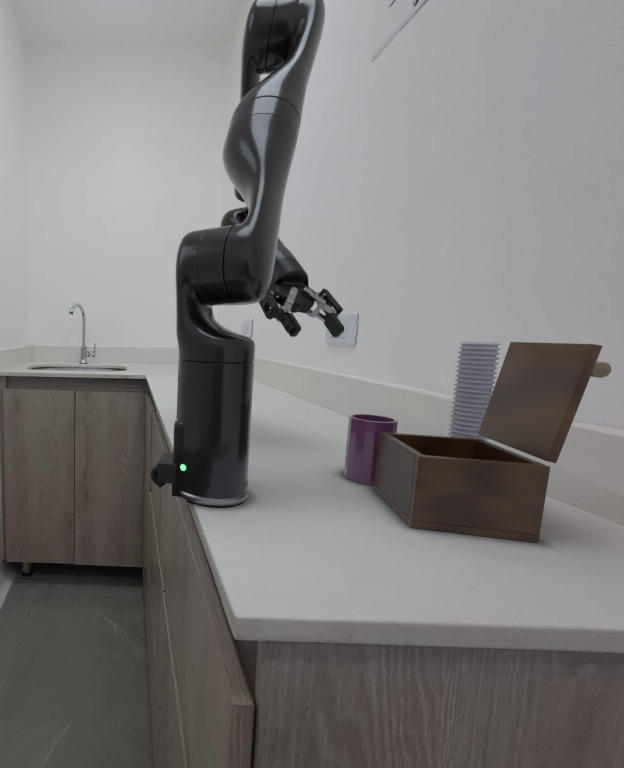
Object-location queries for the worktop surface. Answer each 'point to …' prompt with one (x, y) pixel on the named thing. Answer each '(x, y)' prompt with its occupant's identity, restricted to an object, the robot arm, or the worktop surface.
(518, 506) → the chest
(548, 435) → the lid
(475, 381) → the screw
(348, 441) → the cup
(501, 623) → the worktop surface
